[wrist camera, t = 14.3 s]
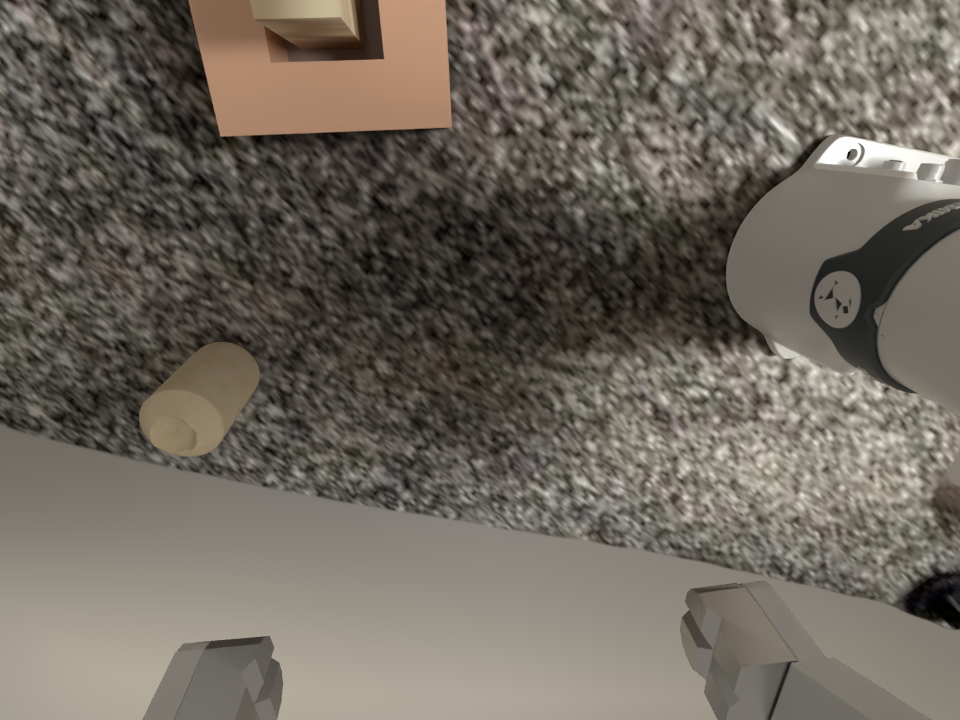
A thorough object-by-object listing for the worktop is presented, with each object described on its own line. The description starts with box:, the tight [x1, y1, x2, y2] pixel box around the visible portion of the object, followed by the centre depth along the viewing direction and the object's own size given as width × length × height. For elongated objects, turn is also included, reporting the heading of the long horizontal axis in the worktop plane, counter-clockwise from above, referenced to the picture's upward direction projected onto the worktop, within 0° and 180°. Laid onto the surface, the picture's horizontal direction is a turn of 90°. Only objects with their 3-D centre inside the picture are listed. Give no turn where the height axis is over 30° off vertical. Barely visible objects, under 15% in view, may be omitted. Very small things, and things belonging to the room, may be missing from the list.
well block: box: [188, 0, 452, 137], centre depth 30 cm, size 14×14×6 cm
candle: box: [139, 342, 260, 457], centre depth 38 cm, size 6×6×10 cm
